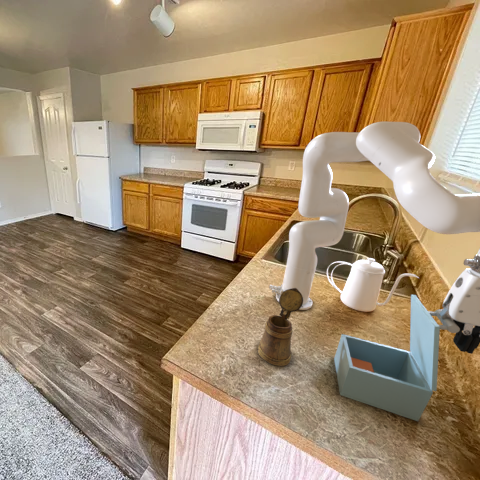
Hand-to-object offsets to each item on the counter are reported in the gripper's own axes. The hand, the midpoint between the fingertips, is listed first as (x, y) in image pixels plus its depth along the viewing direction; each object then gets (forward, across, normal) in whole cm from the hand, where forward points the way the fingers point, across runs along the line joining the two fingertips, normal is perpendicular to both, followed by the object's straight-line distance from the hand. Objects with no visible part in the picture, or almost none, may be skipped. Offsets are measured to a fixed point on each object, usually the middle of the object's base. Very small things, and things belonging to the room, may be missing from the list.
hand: (462, 348), depth 55 cm
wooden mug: (+17, -34, +3) cm, 38 cm away
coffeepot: (+17, -7, +41) cm, 45 cm away
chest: (+17, -12, 0) cm, 21 cm away
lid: (0, -7, 0) cm, 7 cm away
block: (+16, -15, 0) cm, 22 cm away
